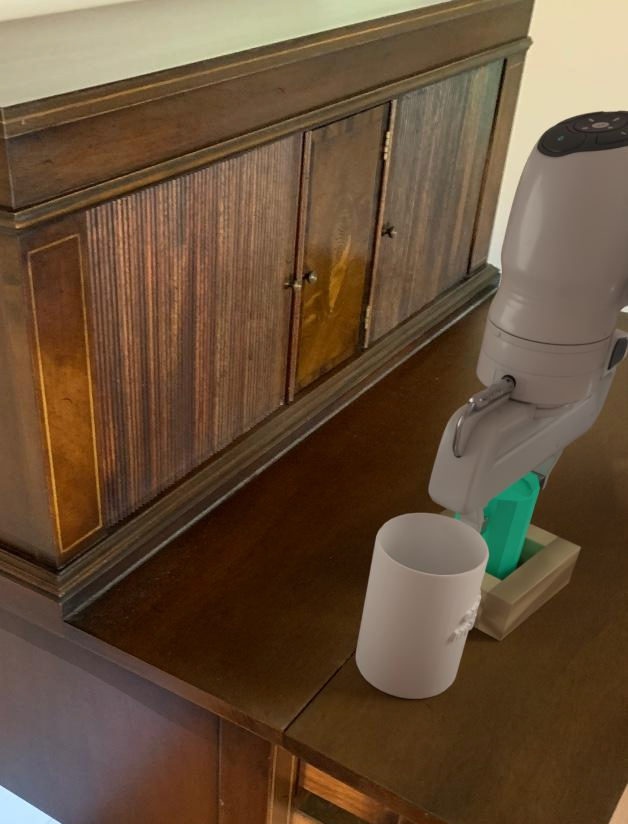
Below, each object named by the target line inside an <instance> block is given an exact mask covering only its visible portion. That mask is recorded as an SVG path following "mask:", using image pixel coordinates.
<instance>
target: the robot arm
mask: <svg viewBox="0 0 628 824" xmlns="http://www.w3.org/2000/svg"><path fill="white" fill-rule="evenodd" d="M515 189H516V190H515V192H514V197H513V199H512V203H511V204H512V205H511V207H510V211H509V215H508V219H507V223H506V228H505V232H504V236H503V241H502V246H501V251H500V265H501V266H500V267H501V276H500V283H499V287H498V289H497V291H496V293H495V295H494V297H493V298H492V301H491V303H490V305H489V309H488V312H487V317H486V322H485V326H484V331H483V336H482V341H481V345H480V350H479V355H478V360H477V364H476V369H475V370H476V371H475V372H476V376H477V378H478V380H479V381H480V383H481V384H482V385H483V386H484V387H486V388H485V389H483V390H480V391H477V392H476V393H474V394H473V395H472V396H471V397H470V398H469V399H468V402H467V403H465V404H464V405H462V406H461V407H459V408H458V409H457V410H456V411H454V413H453V414H452V415H451V417H450V418H449V420H448V421H447V424H446V426H445V429H444V431H443V433H442V435H441V439H440V443H439V446H438V450H437V452H436V456H435V460H434V463H433V467H432V471H431V474H430V478H429V483H428V489H427V491H428V494H429V497H430V499H431V500H432V502H434V503H435V504H437V505H439V506H441V507H443V508H445V509H449V510H451V511H454V512H456V513H458V514H459V516H460V518H459V521H461V522H463V523H465V524H467V525H469V526H470V527H472V528H473V529H475V530H476V531H477V532H478V533H479V534H480V535H482V534H483V533H485V532H486V526H487V524H488V520H489V517H487V516H485V515H484V514H483V508H485V507H486V506H487V505H488V502H489V501H490V500H492V499H493V498H494V497H496V496H497V495H499V494H500V493H501V492H503V491H504V490H506V489H507V488H508V487H510V486H511V485H513V484H514V483H515V482H517V481H518V480H520V479H521V478H522V477H524V476H525V475H527V474H528V473H529V472H532V473H534V474H535V475H537V477H538V481H539V486H540V490H539V493H541V492H542V491H544V489H546V486H547V483H548V479H549V476H550V474H551V472H552V471H553V469H554V468H555V465H556V464H557V462H558V460H559V459H560V458H561V456H562V453H563V451H564V449H565V448H566V447H567V446H569V445H570V444H572V443H573V442H574V441H576V440H577V439H579V438H580V437H581V436H583V435H584V434H586V433H588V432H589V430H590V429H591V428H592V426H593V425H594V424H595V422H596V420H597V419H598V417H599V416H600V414H601V412H602V409H603V406H604V404H605V401H606V399H607V397H608V394H609V392H610V389H611V386H612V383H613V380H614V377H615V375H616V371H617V368H618V365H619V363H621V362H623V360H624V359H625V358H626V357H627V356H628V332H627V331H624V330H621V329H619V328H617V324H618V318H619V314H620V312H621V311H622V310H624V308H626V307H628V110H615V111H612V110H611V111H604V110H600V111H592V112H587V113H581V114H577V115H574V116H571V117H568V118H566V119H563V120H561V121H559V122H557V123H556V124H554V125H553V126H551V127H549V128H548V129H546V130H545V131H544V132H543V133H542V134H541V136H540V137H539V138H538V139H537V141H536V143H535V144H534V146H533V147H532V149H531V151H530V153H529V155H528V157H527V159H526V162H525V164H524V166H523V169H522V172H521V173H520V177H519V180H518V183H517V186H516V188H515Z"/></svg>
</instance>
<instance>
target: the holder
mask: <svg viewBox="0 0 628 824" xmlns="http://www.w3.org/2000/svg"><path fill="white" fill-rule="evenodd" d="M438 514H439V515H443V516H448V517H451V518H454V519H455V515H456V512H454V511H451V510H449V509H447V508H445V509H444V510H442V511H441V512H439V513H438ZM581 548H582V547H581V546H580V545H577V544H575V543H573V542H571V541H569V540H567V539H564V538H562V537H560V536H558V535H556V534H553V533H551V532H550V531H547V530H545V529H542V528H540V527H538V526H536V525H534V524H532V523H531V522H530V523H529V527H528V530H527V533H526V537H525V540H524V543H523V547H522V550H521V553H520V557H519V560H518V563H517V567H516V570H515V571H514V572H513V573H511V574H510V575H509V576H508V577H506V578H505V579H504V580H502V581H501V580H500V579H498V578H496V577H494V576H492V575H490V574H488V573H486V572H485V573H484V576H483V580H482V583H481V587H480V590H481V600H480V604H479V606H478V610H477V615H476V619H475V622H474V625H473V627H472V628H475V629H478V630H479V631H481V632H482V633H484V634H485V635H488V636H489V637H492V638H493V639H495V640H497V641H498V642H501V641H502V640H504V639H505V638H506V637H507V636H508V635H509V634H511V633H512V632H513V631H514V630H515V629H516V628H518V627H519V626H520V625H521V624H523V622H525V621H526V620H527V619H528V618H529V617H531V616H532V615H533V614H534V613H536V611H538V610H539V609H540V608H541V607H542V606H543V605H544V604H546V603H547V602H548V601H549V600H550V599H552V598H553V597H554V596H555V595H556V594H557V593H559V592H560V591H561V590H562V589H564V588H565V586H567V585H568V584H569V583H570V580H571V577H572V574H573V571H574V569H575V566H576V563H577V560H578V557H579V554H580V552H581Z"/></svg>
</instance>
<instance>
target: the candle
mask: <svg viewBox="0 0 628 824" xmlns="http://www.w3.org/2000/svg"><path fill="white" fill-rule="evenodd" d="M539 490H540V486H539V481H538V477H537V475H535V474H534V473H532V472H529V473H528V474H527V475H525V476H524V477H522V478H521V479H520V480H518V481H517V482H515V483H514V484H513V485H511V486H510V487H508V488H507V489H506V490H504V491H503V492H501V493H500V494H499V495H497V496H496V497H494V498H493V499H492V500H490V501H489V502H488V505H487V506H486V507H485V508H483V514H484V515H485V516H487V517H489V520H488V524H487V526H486V532H485V533H483V534H482V535H481V536H482V537H483V539H484V540H485V542H486V544H487V547H488V551H489V558H488V562H487V565H486V569H485V572H486V573H488V574H490V575H492V576H494V577H496V578H498V579H500V580H501V581H502V580H504V579H505V578H506V577H508V576H509V575H510V574H511V573H513V572H514V571H515V570H516V567H517V563H518V560H519V557H520V553H521V550H522V547H523V543H524V540H525V537H526V533H527V530H528V527H529V523H530V524H531V519H532V517H533V513H534V509H535V507H536V504H537V500H538V496H539V493H540V492H539ZM459 518H460V516H459V514H458V513H456V515H455V519H457V520H459Z"/></svg>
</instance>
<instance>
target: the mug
mask: <svg viewBox="0 0 628 824" xmlns="http://www.w3.org/2000/svg"><path fill="white" fill-rule="evenodd" d="M439 514H440V513H431V512H413V513H405V514H400V515H398V516H395V517H393V518H391V519H389V520H387V521H386V522H384V524H383V525H382V526H381V527H380V528H379V530H378V531H377V534H376V536H375V541H374V547H373V551H372V552H373V553H372V558H371V564H370V570H369V576H368V581H367V586H366V587H367V588H366V593H365V598H364V605H363V610H362V615H361V621H360V627H359V634H358V638H357V645H356V650H355V663H356V666H357V668H358V670H359V672H360V675H362V677H363V678H364V679H365V681H367V682H368V683H369V684H370V685H371V686H373V687H374V688H376V689H378V690H379V691H381V692H383V693H385V694H388V695H391V696H393V697H397V698H402V699H408V700H409V699H410V700H422V699H428V698H432V697H435V696H438V695H440V694H442V693H443V692H445V691H446V690H447V689H449V687H450V686H452V685H453V683H454V682H455V680H456V677H457V673H458V672H459V671H458V670H459V668H460V667H459V666H460V663H461V658H462V656H463V652H464V648H465V645H466V641H467V638H468V633H469V631H471V630H472V629H473V628H474V627H473V625H474V622H475V619H476V615H477V610H478V606H479V604H480V600H481V590H480V587H481V583H482V580H483V576H484V573H485V569H486V565H487V562H488V558H489V551H488V547H487V544H486V542H485V540H484V539H483V537H482V536H481V535H480V534H479V533H478V532H477V531H476V530H475V529H473V528H472V527H470V526H469V525H467V524H465V523H463V522H461V521H459V520H457V519H454V518H451V517H448V516H443V515H439Z"/></svg>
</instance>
